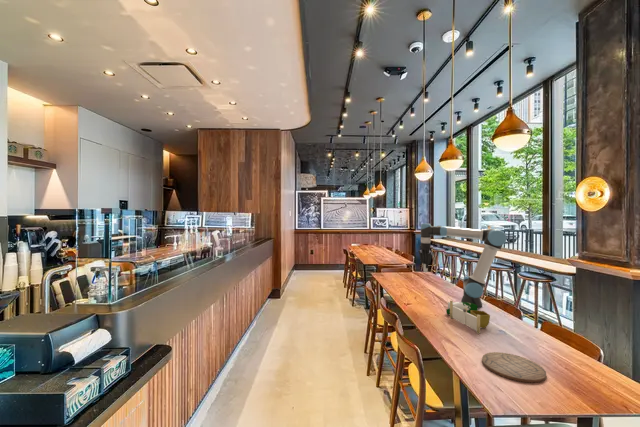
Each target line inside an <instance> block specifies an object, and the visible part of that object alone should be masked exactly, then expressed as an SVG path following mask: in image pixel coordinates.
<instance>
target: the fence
mask: <svg viewBox="0 0 640 427" xmlns="http://www.w3.org/2000/svg"><path fill="white" fill-rule="evenodd" d="M449 302H450V315H449V318H450V319H453V320H454V318H453V302H454V301H453V300H449ZM464 309H466V312H467V308H464ZM463 325H464V326H467V327H469V328H470V329H472V330H473V331H475V332H476V334H478V335H480V334H481V328H480V315H477V317H475V316H473V315H471V314H469V313H466V325H465V324H463Z"/></svg>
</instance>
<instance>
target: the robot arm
mask: <svg viewBox="0 0 640 427" xmlns="http://www.w3.org/2000/svg"><path fill="white" fill-rule="evenodd" d="M432 236H434V237H435V236H437V237H438V236H439V237H454V238H465V239H471V240H472V239H474V240H479V241H481V242H483V245H484V247H483V250H482V252H481V254H480V257H479V259H478V261H477V264H476V265H475V268H474V270H473V273H472V275H469V276H468V275H467V276H463V279H462V280H463V281H462V282H463V294H462V298H461V301H460V302H468V303H473V304H476V305H477V308H478V309H481V308H483V303H482V302H483V301H482V299H481V296H483V294H484V288H485V285H486V281H485V280H486V277H487V276H488V273H489V271H490V268H491V266H492V264H493V262H494V260H495V257H496V255H497V252H499V251H501V249H502V248H503V245H504V244H505V243H506V242H507V239H508V238H507V235H506V233H505V232H504V231H503V230H501V229H499V228H481V229H475V228H466V227H465V228H463V227H455V226H454V227H453V226H444V225H443V226H442V225H437V226H436V225H431V223H421V224H420V250H418V253H419V259H420V263H422V268H423V273H429V271H428V269H429V265H430V264H431V261H432V257H433V254H434V252H433V251H432V250H431V246H432V244H431V243H432V241H431V237H432Z"/></svg>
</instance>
